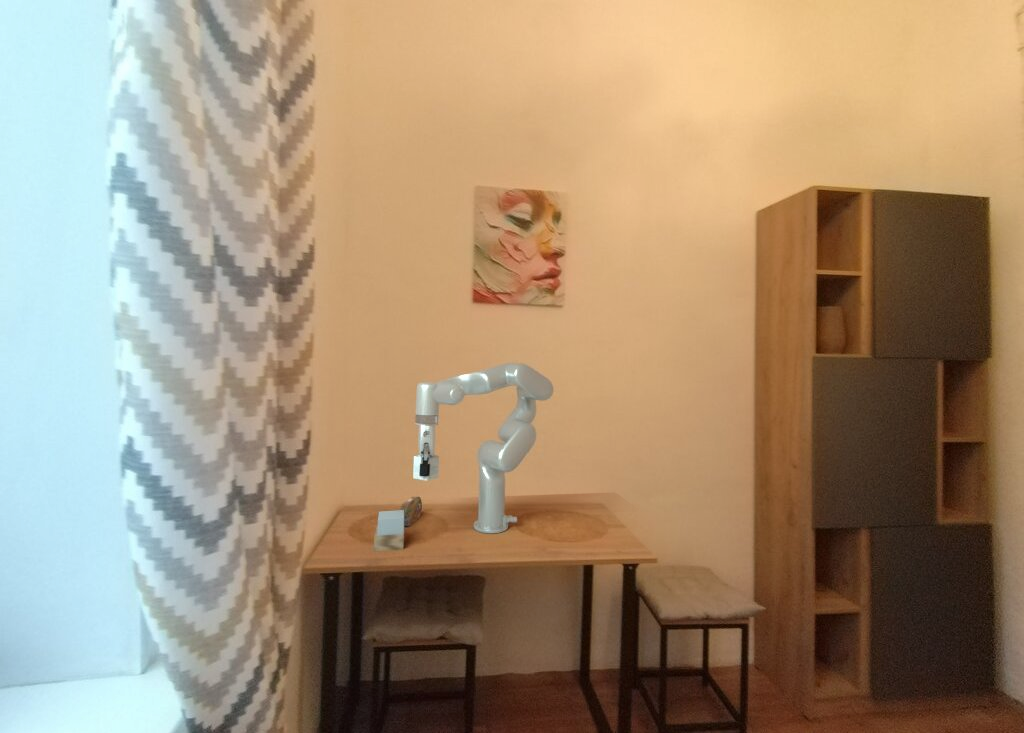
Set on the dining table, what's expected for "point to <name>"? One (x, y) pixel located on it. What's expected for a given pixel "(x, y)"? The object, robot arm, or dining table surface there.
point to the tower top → (391, 522)
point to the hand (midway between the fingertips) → (424, 472)
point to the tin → (411, 510)
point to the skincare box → (433, 468)
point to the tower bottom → (388, 541)
